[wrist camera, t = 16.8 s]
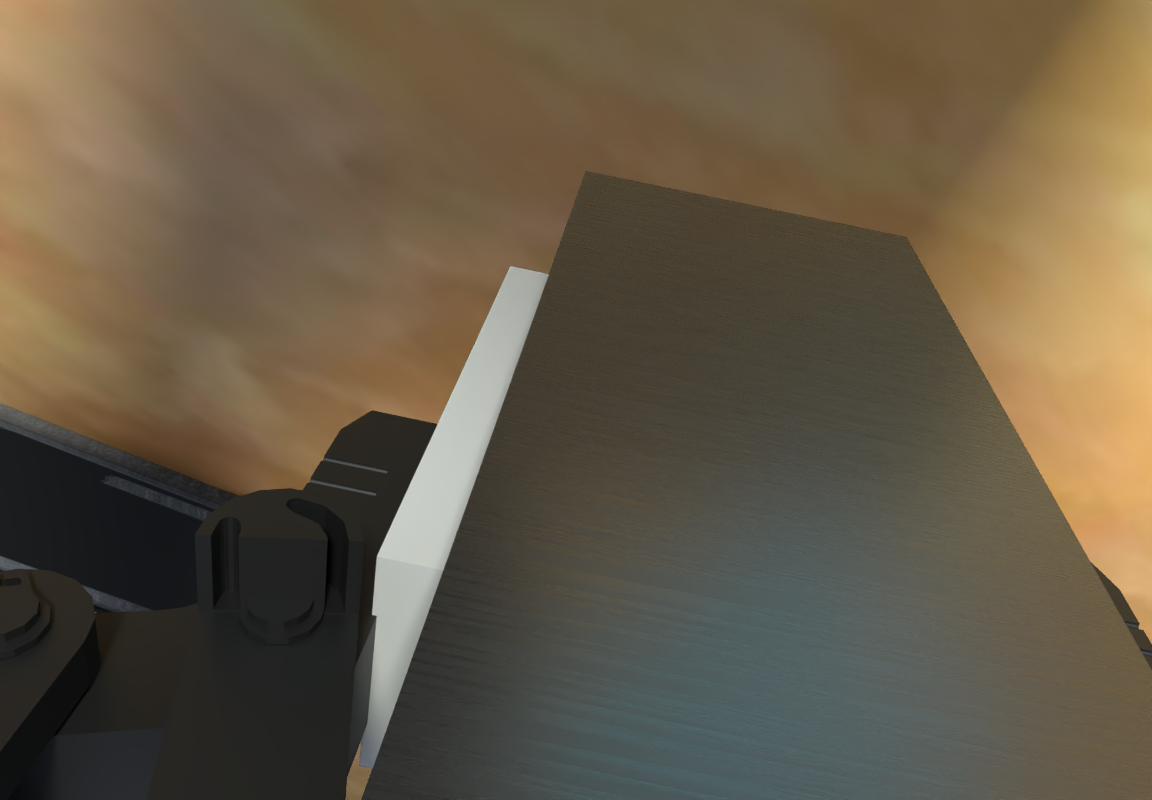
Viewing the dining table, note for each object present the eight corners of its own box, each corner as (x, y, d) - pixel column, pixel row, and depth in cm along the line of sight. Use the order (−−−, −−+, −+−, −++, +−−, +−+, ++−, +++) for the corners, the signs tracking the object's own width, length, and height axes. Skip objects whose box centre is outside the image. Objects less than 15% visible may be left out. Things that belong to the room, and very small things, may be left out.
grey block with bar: (362, 125, 14) (-511, 811, 4) (1131, 283, 14) (2311, 1415, 4) (339, 547, 19) (-107, 1403, 8) (928, 671, 18) (1225, 1694, 8)
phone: (304, 688, 38) (-62, 555, 36) (313, 668, 39) (-42, 536, 37) (354, 554, 34) (-54, 397, 32) (363, 535, 35) (-32, 381, 33)
